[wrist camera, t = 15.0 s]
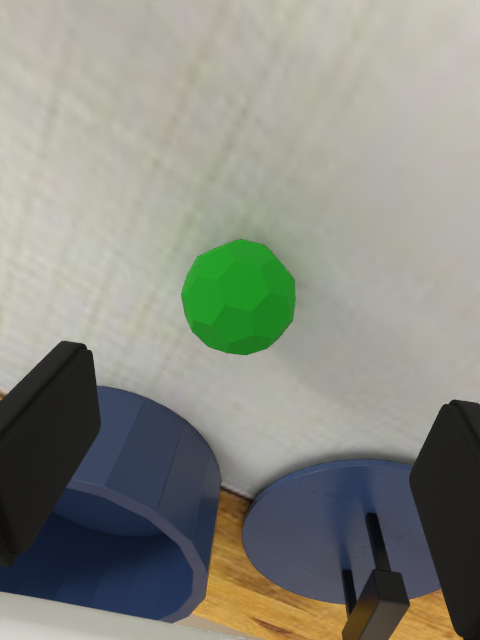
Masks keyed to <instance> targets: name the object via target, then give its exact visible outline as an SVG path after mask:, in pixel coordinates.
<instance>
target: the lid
mask: <svg viewBox="0 0 480 640" xmlns="http://www.w3.org/2000/svg"><path fill="white" fill-rule="evenodd" d="M412 467H413V466H412V465H408V464H404V463H398V462H393V461H384V460H373V459H355V460H343V461H334V462H329V463H323V464H318V465H315V466H311V467H308V468H304V469H301V470H299V471H296V472H294V473H291V474H289V475H287V476H285V477H283V478H281V479H279V480H278V481H276V482H274V483H273V484H272V485H270V486H269V487H267V488H266V489H265V490H264V491H263V492H261V493H260V494H259V495H258V496H257V497H256V499H255V500H254V501H253V502H252V504H251V505H250V507H249V509H248V511H247V513H246V515H245V518H244V522H243V528H242V541H243V547H244V550H245V552H246V555H247V557H248V558H249V560H250V562H251V563H252V564H253V566H254V567H255V568H256V569H257V570H258V571H259V572H260V573H261V574H262V575H263V576H265V577H266V578H267V579H269V580H270V581H272V582H273V583H274V584H276V585H278V586H280V587H282V588H284V589H286V590H288V591H290V592H293V593H295V594H298V595H301V596H304V597H307V598H310V599H314V600H318V601H324V602H329V603H336V604H345V605H346V612H347V619H348V621H347V623H346V625H345V627H344V629H343V631H342V638H343V640H388V639H389V638H390V636H391V635H392V633H393V632H394V630H395V628H396V627H397V625H398V624H399V622H400V621H401V619H402V617H403V616H404V614H405V613H406V611H407V610H408V608H409V606H410V602H409V599H413V598H417V597H420V596H423V595H426V594H429V593H431V592H433V591H436V590H438V589H440V588H441V586H440V583H439V579H438V576H437V573H436V570H435V566H434V563H433V560H432V557H431V554H430V550H429V547H428V544H427V541H426V537H425V534H424V531H423V528H422V524H421V521H420V518H419V515H418V512H417V508H416V505H415V502H414V499H413V495H412V492H411V489H410V485H409V475H410V472H411V470H412Z"/></svg>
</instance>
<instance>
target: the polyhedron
mask: <svg viewBox="0 0 480 640" xmlns="http://www.w3.org/2000/svg"><path fill="white" fill-rule="evenodd" d="M181 297H182V302H183V307H184V312H185V316H186V319H187V321H188V323H189V325H190V328H191V330H192V332H193V333H194V334H195V335H196V336H197V337H199V338H200V339H201V340H202V341H203V342H204V343H205V344H206V345H207V346H208V347H211V348H214V349H217V350H220V351H222V352H225V353H231V354H239V355H248V354H252V353H255V352H258V351H261V350H264V349H267V348H268V347H269V346H270V345H272V344H273V343H274V342H275V341H276V340H277V339H278V338H279V337H280V336H281V335H282V334H283V332H284V331H285V330H286V328H287V327H288V326H289V325H290V323H291V322H292V321H293V315H294V308H295V280H294V278H293V277H292V276H291V275H290V273H289V272H288V271H287V270H286V268H285V267H284V266H283V265H282V264H281V262H280V261H279V260H278V259H277V258H276V257H275V255H274V254H273V253H272V252H271V251H270V250H269V249H268V248H267V247H266V246H265V245H262V244H258V243H254V242H250V241H246V240H241V239H240V240H236V241H232V242H230V243H227V244H225V245H222V246H220V247H217V248H215V249H212V250H210V251H208V252H206V253H204V254H202V255H200V256H198V257H197V258H196V260H195V262H194V264H193V266H192V267H191V269H190V271H189V273H188V274H187V277H186V280H185V283H184V286H183V289H182V292H181Z"/></svg>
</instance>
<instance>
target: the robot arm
mask: <svg viewBox="0 0 480 640" xmlns="http://www.w3.org/2000/svg"><path fill="white" fill-rule="evenodd" d="M100 427H101V417H100V409H99V401H98V393H97V385H96V377H95V369H94V361H93V354H92V352H91V350H87V347H86V345H85V344H82V343H76V342H69V341H61V342H60V343H59V344H58V345H57V346H56V347H55V348H54V349H53V350H52V351H51V352H50V353H49V354H48V355H47V356H45V357H44V358H43V359H42V360H41V361H40V362H39V363H38V364H37V365H36V366H35V367H34V368H33V369H32V370H31V371H30V372H29V373H28V374H27V375H26V376H25V377H24V378H23V379H22V380H21V381H20V382H19V383H18V384H17V385H16V386H15V387H14V388H13V389H12V390H11V391H10V392H9V393H8V394H7V395H6V396H5V397H4V398H3V399H2V400H1V401H0V566H5V567H10V568H11V567H12V565H13V563H14V562H15V560H16V559H17V557H18V555H19V554H24V553H25V552H27V550H28V549H29V548H30V547H31V545H32V543H33V542H34V540H35V538H36V537H37V535H38V533H39V532H40V530H41V529H42V527H43V525H44V524H45V522H46V520H47V519H48V517H49V515H50V514H51V512H52V510H53V509H54V507H55V505H56V504H57V502H58V500H59V499H60V497H61V495H62V494H63V492H64V490H65V489H66V487H67V485H68V484H69V482H70V480H71V479H72V477H73V475H74V474H75V472H76V470H77V469H78V467H79V465H80V464H81V462H82V460H83V459H84V457H85V456H86V454H87V452H88V451H89V449H90V447H91V446H92V444H93V442H94V441H95V439H96V437H97V436H98V434H99V431H100ZM409 485H410V489H411V492H412V495H413V499H414V502H415V505H416V508H417V512H418V515H419V518H420V521H421V524H422V528H423V531H424V534H425V537H426V541H427V544H428V547H429V550H430V554H431V557H432V560H433V563H434V566H435V570H436V573H437V576H438V579H439V583H440V586H441V589H442V592H443V596H444V599H445V602H446V605H447V608H448V612H449V615H450V618H451V621H452V625H453V627H454V630H455V631H456V633H457V634H458V635H459V636H460V637H463V639H464V640H480V404H478V403H475V402H468V401H461V400H452V401H450V403H449V404H444V405H443V406H442V407H441V409H440V411H439V413H438V415H437V417H436V420H435V422H434V424H433V426H432V428H431V430H430V432H429V434H428V436H427V438H426V440H425V442H424V445H423V447H422V449H421V451H420V453H419V455H418V457H417V459H416V461H415V463H414V465H413V467H412V470H411V472H410V475H409ZM0 640H254V639H248V638H244V637H239V636H233V635H228V634H223V633H217V632H213V631H208V630H202V629H197V628H193V627H187V626H182V625H177V624H172V623H167V622H162V621H157V620H151V619H146V618H141V617H136V616H130V615H125V614H120V613H115V612H109V611H104V610H99V609H94V608H88V607H83V606H78V605H72V604H67V603H62V602H57V601H51V600H46V599H41V598H35V597H29V596H23V595H17V594H11V593H5V592H0Z"/></svg>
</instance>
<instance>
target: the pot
mask: <svg viewBox="0 0 480 640" xmlns="http://www.w3.org/2000/svg"><path fill="white" fill-rule="evenodd" d="M97 393H98V401H99V409H100V417H101V427H100V431H99V434H98V436H97V437H96V439H95V441H94V442H93V444H92V446H91V447H90V449H89V451H88V452H87V454H86V456H85V457H84V459H83V460H82V462H81V464H80V465H79V467H78V469H77V470H76V472H75V474H74V475H73V477H72V479H71V480H70V482H69V484H68V485H67V487H66V489H65V490H64V492H63V494H62V495H61V497H60V499H59V500H58V502H57V504H56V505H55V507H54V509H53V510H52V512H51V514H50V515H49V517H48V519H47V520H46V522H45V524H44V525H43V527H42V529H41V530H40V532H39V533H38V535H37V537H36V538H35V540H34V542H33V543H32V545H31V547H30V548H29V549H28V550H27V552H25V553H24V554H19V555H18V557H17V559H16V560H15V562H14V563H13V565H12V567H11V568H10V567H5V566H0V592H5V593H11V594H17V595H23V596H29V597H35V598H41V599H46V600H51V601H57V602H62V603H67V604H72V605H78V606H83V607H88V608H94V609H99V610H104V611H109V612H115V613H120V614H125V615H130V616H136V617H141V618H146V619H151V620H157V621H162V622H167V623H174V622H177V621H179V620H181V619H184V618H186V617H188V616H189V615H190V614H191V613H192V612H193V611H194V610H195V608H196V607H197V606H198V605H199V604H200V603H201V602H202V601H203V600H204V598H205V596H206V590H207V583H208V576H209V569H210V562H211V555H212V548H213V541H214V534H215V527H216V520H217V513H218V506H219V498H220V489H221V475H220V470H219V466H218V463H217V460H216V458H215V455H214V454H213V452H212V450H211V448H210V447H209V445H208V444H207V442H206V441H205V440H204V439H203V437H202V436H201V435H200V434H199V433H198V432H197V431H196V430H195V429H194V428H193V427H192V426H191V425H190V424H189V423H188V422H186V421H185V420H184V419H183V418H181V417H180V416H179V415H177V414H175V413H174V412H172V411H171V410H169V409H168V408H166V407H164V406H162V405H160V404H158V403H156V402H154V401H152V400H150V399H147V398H145V397H142V396H140V395H137V394H134V393H130V392H127V391H123V390H120V389H114V388H109V387H103V386H97Z"/></svg>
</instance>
